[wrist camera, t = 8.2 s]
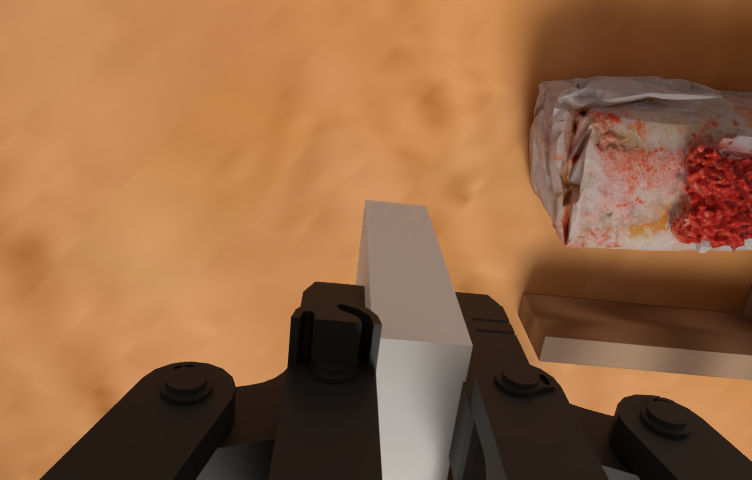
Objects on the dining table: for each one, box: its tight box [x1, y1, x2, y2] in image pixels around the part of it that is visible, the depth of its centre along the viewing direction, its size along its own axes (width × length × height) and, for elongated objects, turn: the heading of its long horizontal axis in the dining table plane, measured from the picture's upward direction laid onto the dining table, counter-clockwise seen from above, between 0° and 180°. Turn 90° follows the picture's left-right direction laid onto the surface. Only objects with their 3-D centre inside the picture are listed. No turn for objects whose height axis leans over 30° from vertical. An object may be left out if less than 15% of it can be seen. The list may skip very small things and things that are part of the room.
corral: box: [518, 288, 752, 380], centre depth 32 cm, size 15×23×5 cm, turn 173°
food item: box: [529, 76, 752, 253], centre depth 30 cm, size 14×8×10 cm, turn 90°
